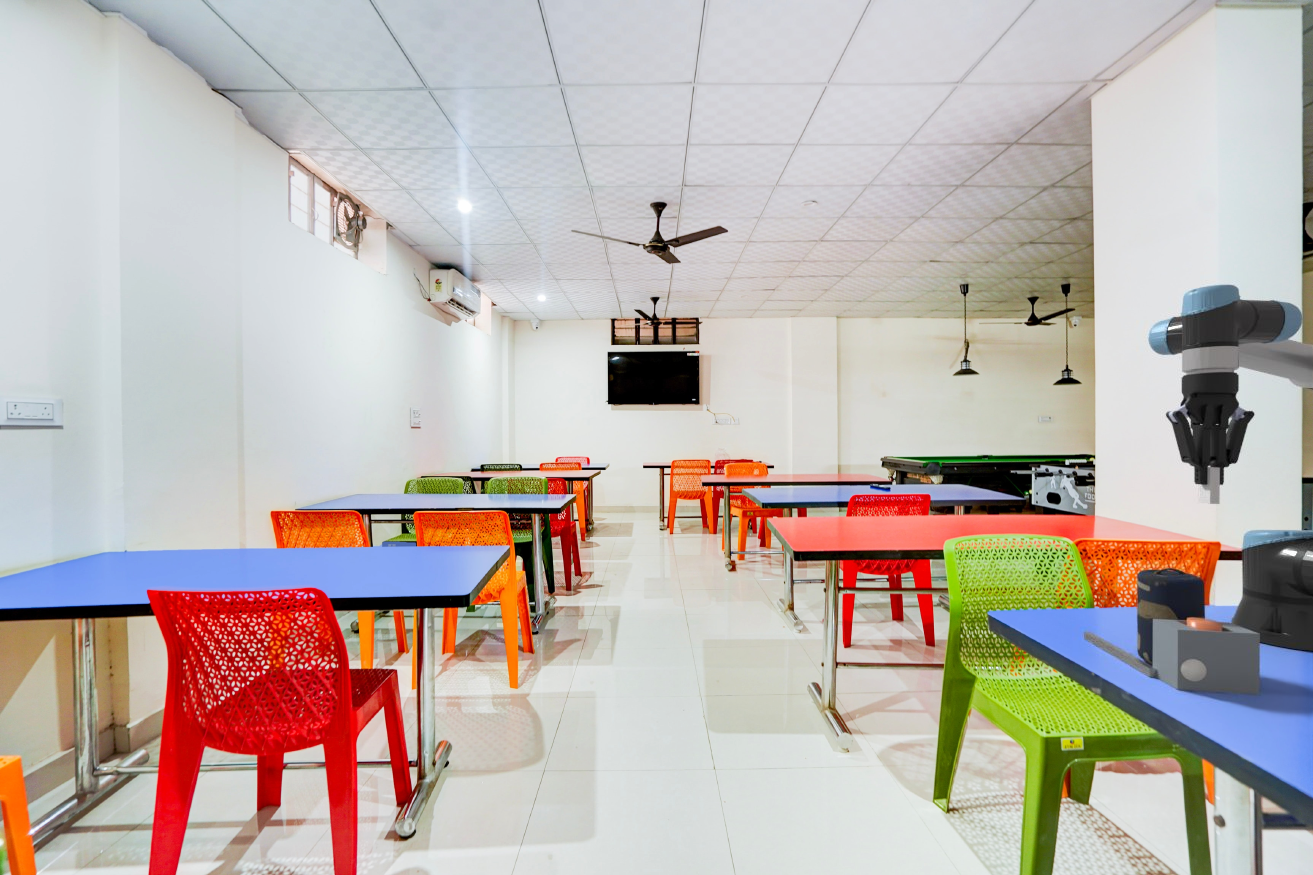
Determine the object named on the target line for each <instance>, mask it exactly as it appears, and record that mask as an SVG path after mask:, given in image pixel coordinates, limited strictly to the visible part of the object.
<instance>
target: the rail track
mask: <svg viewBox="0 0 1313 875" xmlns="http://www.w3.org/2000/svg"><path fill="white" fill-rule="evenodd" d="M1083 639H1084V640H1085V641H1087V642H1088V643H1090V644H1092V645H1094V646H1096V647H1097V648H1099V649H1101V650H1102V651H1104V652H1106V653H1108V654H1109V655H1111V656H1113V657H1114V658H1116V659H1117V660H1119V661H1121V662H1123V663H1124V664H1126V665H1128V666H1130V667H1132V668H1133V669H1135V670H1136V671H1138V672H1140V673H1142V674H1144V675H1145V676H1147V677H1149V678H1156V679H1158V678H1157V669H1156V668H1154V667H1153V665H1150V663H1148V662H1145V660H1143V659H1142V660H1141V658H1138V657H1136V656H1134V655H1133V654H1131V653H1130V652H1127V651H1125V650H1123V649H1122V648H1120V647H1119V646H1117V645H1114V644H1113V643H1111V642H1109V640H1108V641H1107V640H1106V639H1104V638H1102V637H1100V636H1098V635H1096V634H1095V633H1093V632H1091V631H1083Z"/></svg>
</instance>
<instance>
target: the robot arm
mask: <svg viewBox="0 0 1313 875" xmlns="http://www.w3.org/2000/svg"><path fill="white" fill-rule="evenodd" d="M1239 291H1240V290H1239V288H1238V286H1236V285H1235V284H1234V285H1233V284H1215V285H1214V284H1213V285H1207V286H1202V287H1201V286H1200V287H1196V288H1193V289H1191V290H1188V291H1186V293H1184V295H1183V298H1182V308H1181V313H1180V316H1172V317H1170V318H1167V319H1163V320H1160V321H1158V322H1156V323H1154V324H1153V325H1152V326H1151V328H1150V330H1149V332H1148V333H1149V334H1148V337H1147V338H1148V340H1147V341H1148V344H1149V346H1150V348H1151V349H1152V351H1154V352H1155V353H1156V354H1158V355H1162V356H1175V355H1178V354H1181V371H1182V373H1185V374H1184V375H1183V376H1182V377H1181V394H1182V395H1183V399H1182V401H1181V402H1180V406H1179V407H1178V408H1176V409H1174V410H1172V411H1171V410H1170V411H1169V410H1168V411H1166V413H1165V417H1166V418H1167V419H1168V421H1169V422H1170V423H1171V425H1172V426H1171V427H1172V429H1173V433H1174V437H1175V441H1176V445H1177V449H1178V451H1179V457H1180V459H1181V462H1182V463H1185V464H1189V466H1191V467H1194V468H1193V471H1194V472H1193V473H1194V474H1193V475H1194V476H1193V477H1194V479H1193V480H1194V481H1193V482H1194V483H1195V485H1198V503H1202V504H1207V505H1208V504H1210V505H1211V504H1212V505H1220V498H1221V497H1220V496H1221V494H1220V490H1221V489H1220V486H1223V485H1224V482H1225V468H1228V467H1229V466H1230V465H1231V464H1232V465H1233V464H1237V463H1238V461H1239V457H1240V454H1241V450H1242V447H1243V443H1244V439H1245V435H1246V433H1247V429H1248V425H1249V423H1250V422H1251V420H1252V419H1253V418H1254V417H1255V415H1256V414H1255V412H1254V411H1253V410H1246V409H1244V408H1242V407H1240V402H1239V401H1238V398H1237V394H1238V393H1239V389H1240V387H1239V384H1240V383H1239V382H1240V381H1239V379H1240V377H1239V376H1240V374H1238V373H1237V372H1235V371H1237V370H1238V369H1240V368H1244V369H1248V370H1250V371H1252V370H1253V371H1256V372H1260V373H1264V374H1267V375H1271V376H1275V377H1280V378H1283V379H1287V380H1289V381H1290V382H1291V383H1292V384H1293V385H1295V386H1296V387H1300V388H1304V389H1308V390H1311V391H1313V344H1308V343H1303V342H1301V341H1297V340H1293V339H1291V338H1292V337H1294V336H1295V335H1296V334H1297V333H1298V332H1299V331H1300V329H1301V327H1302V324H1303V320H1304V319H1303V314H1302V312H1301V309H1300V308H1299V307H1298V306H1297V305H1295V304H1293V303H1291V302H1287V301H1280V300H1274V299H1270V300H1258V299H1257V300H1254V299H1241V295H1240V292H1239ZM1187 418H1189V419H1190V422H1189V421H1188V419H1187ZM1229 420H1230V421H1229ZM1242 540H1243V541H1242V547H1241V548H1240V549H1241V555H1242V556H1241V562H1242V563H1241V567H1242V568H1241V569H1242V570H1241V572H1242V574H1241V575H1242V577H1241V578H1242V581H1241V582H1242V594H1241V595H1242V596H1241V599H1240V602H1239V603H1238V605H1237V608H1236V610H1235V613H1234V615H1233V617H1232V618H1231V619H1230V620H1231V621H1230V623H1232V624H1235V625H1238V626H1240V627H1243V628H1245V629H1248V630H1251V631H1253V632H1256V633H1259V634H1260V643H1263V644H1267V645H1271V646H1274V647H1275V646H1276V647H1282V648H1287V649H1288V648H1289V649H1293V650H1294V649H1295V650H1299V651H1301V650H1302V651H1312V652H1313V530H1307V529H1305V530H1304V529H1302V530H1301V529H1298V530H1297V529H1296V530H1295V529H1253V530H1249V531H1246V532H1245V533H1244V535H1243V538H1242Z"/></svg>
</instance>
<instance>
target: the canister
mask: <svg viewBox="0 0 1313 875" xmlns="http://www.w3.org/2000/svg"><path fill="white" fill-rule="evenodd" d="M1136 577H1137V578H1136V581H1137V582H1136V586H1137V587H1136V590H1137V591H1136V592H1137V594H1136V595H1137V596H1136V597H1137V599H1136V600H1137V602H1136V604H1137V605H1136V612H1137V613H1136V624H1137V628H1136V629H1137V631H1136V632H1137V634H1136V635H1137V637H1136V638H1137V640H1136V643H1137V647H1136V648H1137V654H1138V656H1139V657H1140V659H1142V661H1144V662H1145V661H1146V663H1148V664H1152V665H1153V619H1166V620H1187V618H1190V617H1195V618H1204V619H1206V604H1205V603H1206V600H1205V599H1206V597H1205V595H1206V594H1205V592H1206V591H1205V590H1206V589H1205V582H1204V580H1203V579H1202V577H1199V576H1198V575H1194V574H1191V573H1187V572H1185V571H1182V570H1181V569H1177V568H1173V567H1166V568H1162V569H1144V570H1141V571H1139V572H1138V573H1137V575H1136Z"/></svg>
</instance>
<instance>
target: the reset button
mask: <svg viewBox="0 0 1313 875" xmlns="http://www.w3.org/2000/svg"><path fill="white" fill-rule="evenodd" d="M1220 622H1221V621H1218V620H1217V621H1216V620H1212V619H1209V618H1205V619H1204V618H1195V617H1190V618H1187V626H1190V627H1192V628H1194V629H1197V630H1203V631H1222V623H1220Z"/></svg>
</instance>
